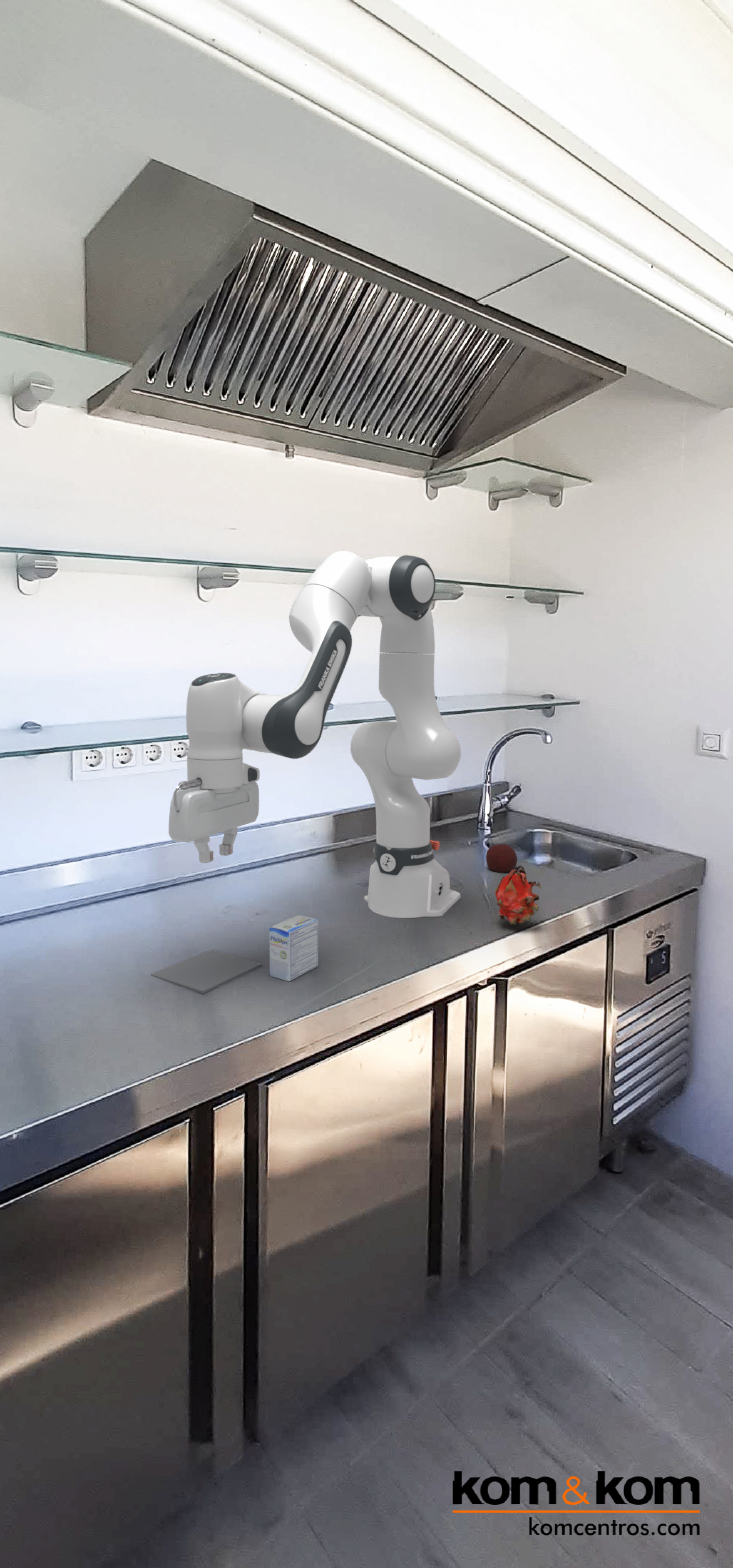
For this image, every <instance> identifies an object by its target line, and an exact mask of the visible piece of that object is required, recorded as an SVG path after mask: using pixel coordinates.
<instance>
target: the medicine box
mask: <svg viewBox="0 0 733 1568" xmlns="http://www.w3.org/2000/svg"><path fill="white" fill-rule="evenodd" d="M268 930H269V939H268V940H269V975H270V977H273V978H275V979H277V980H278V979H279V980H282V981H286V982H291V981H293V980H295V979H297V978H299V977H301V976H302V975H304V974H307V973H308V972H310V971H311V970H314V969H315V968H318V966H319V919H316V918H313V917H310V916H305V915H301V914H298V915H294V916H292V917H290V918H288V919H286V920H285V919H284V920H283V921H282V922H278V923H277V924H274V925H271V926H270V927H269V929H268Z"/></svg>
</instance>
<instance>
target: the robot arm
mask: <svg viewBox="0 0 733 1568" xmlns="http://www.w3.org/2000/svg"><path fill="white" fill-rule="evenodd" d="M435 593H436V577H435V573H434V571H433V569H432V568H431V565H430V564H429V563H428V561H427V560H425V559H424V558H422V557H419V556H417V555H416V556H414V555H408V554H405V555H404V554H403V555H401V556H398V555H384V556H376V557H373V558H369V559H368V558H367V559H364V558H362V557H361V556H360V555H358V554H356V553H355V552H352V551H348V550H339V551H335V552H333V553H331V554H330V555H329V556H328V557H327V558H325V560H324V561H322V563H320V564H319V566H318V567H317V568H315V570H314V571H313V573H311V575H310V577H309V578H308V579H307V581H306V582H305V583H304V585H303V587H302V588H301V590H300V591H299V593H298V594H297V596H296V597H295V600H294V601H293V603H292V605H291V608H290V611H289V614H288V621H289V625H290V626H289V627H290V630H291V632H292V634H293V636H294V637H295V639H296V640H297V641H298V642H299V643H300V644H301V645H302V646H303V648H305V649H306V650H307V651H309V652H310V653H311V655H310V658H309V659H308V662H307V664H306V666H305V669H304V671H303V673H302V675H301V677H300V680H299V683H298V684H297V687H295V688H294V689H293V690H291V691H289V692H288V693H285V694H281V695H279V694H269V693H268V694H267V693H260V692H259V691H257V690H255V689H253V688H250V687H249V686H247V685H246V684H244V683H243V681H241V680H239V679H240V678H239V677H238V676H237V675H236V674H234V673H229V672H218V673H210V674H205V675H200V676H198V677H196V678H195V679H194V680H192V681H191V683H190V685H189V687H188V691H187V697H186V709H185V710H186V713H185V715H186V717H185V720H186V723H185V724H186V727H185V728H186V733H187V735H188V740H189V741H188V749H187V753H186V767H187V769H186V770H187V771H186V775H187V776H186V777H187V779H186V780H185V781H180V782H179V783H178V786H176V788H175V789H174V791H173V793H172V798H171V799H170V807H169V816H168V835H169V837H170V838H171V840H172V841H174V842H182V843H190V842H193V844H194V846H195V848H196V850H197V852H198V861H199V863H201V864H209V863H210V862H213V861H214V850H210V846H209V843H210V841H211V840H210V836H213V835H217V834H220V833H222V834H223V838H222V841H221V843H220V844H219V845H218V848H219V849H218V850H219V851H218V852H219V855H220V856H223V857H224V856H225V857H227V856H228V857H229V856H230V855H234V854H233V853H234V843H235V841H236V838H237V836H238V828H239V827H242V826H245V825H248V824H252V823H254V822H256V820H257V818H258V816H259V813H260V812H259V810H260V789H259V785H258V783H257V782H259V780H260V776H261V772H260V768H258V767H255V766H254V765H253V766H252V765H250V764H248V763H245V762H244V761H243V760H244V759H243V757H244V756H243V750H249V751H255V752H259V753H264V754H265V753H266V754H274V755H277V756H281V757H285V758H289V759H292V760H295V759H296V760H297V759H301V758H304V757H306V756H307V755H309V754H310V753H311V752H313V750H314V749H315V748H316V747H317V745H318V743H319V742H320V740H321V737H322V734H323V731H324V727H325V726H324V725H325V720H326V716H327V713H328V710H329V707H330V704H331V702H332V699H333V698H334V694H335V693H336V690H337V688H338V686H339V683H340V681H341V678H342V676H343V673H344V672H345V669H346V666H347V663H348V661H349V658H350V655H351V651H352V647H353V638H352V633H351V630H352V628H353V626H354V624H355V622H356V621H357V619H358V617H369V618H372V617H373V618H379V620H380V622H381V629H380V630H381V631H380V641H379V654H378V655H379V659H378V660H379V662H378V664H379V665H378V690H379V693H380V695H381V697H382V698H383V700H385V701H386V702H388V703H389V704H390V706H391V708H392V710H393V712H394V716H395V721H390V720H389V721H387V720H379V721H372V722H366V723H364V724H361V725H360V726H358V727H357V728H356V730H355V731H354V732H353V734H352V737H351V740H350V754H351V757H352V760H353V761H354V763H355V764H356V765H357V766H358V767H359V768H360V769H361V771H362V772H363V773H364V776H365V778H366V779H367V783H368V785H369V787H370V790H371V793H372V796H373V801H374V806H375V825H376V826H375V828H376V830H375V831H376V832H375V833H376V837H375V838H376V839H375V840H376V841H375V842H374V843H373V845H374V846H373V859H374V860H375V861H374V863H372V864H371V866H370V870H369V879H368V892H367V895H364V897H363V899H364V900H365V902H367V903H368V904H367V905H368V908H369V910H371V911H372V912H373V913H375V914H377V915H381V916H384V917H388V918H395V919H396V918H398V919H413V918H422V917H423V918H424V917H426V918H427V917H430V918H432V917H434V918H435V917H442V916H444V914H445V913H447V912H448V911H449V910H450V909H451V908H452V907H453V906H454V905H455V903H457V901H458V900H459V899H461V893H460V892H459V891H456V890H454V889H450V887H451V886H450V885H451V884H450V883H451V882H450V879H451V878H450V873H449V871H448V870H447V869H445V868H444V866H442V865H441V864H440V863H439V862H438V861H437V860H436V859H435V854H434V851H439V849H440V846H441V845H440V841H439V840H432V839H431V838H430V835H431V833H430V830H431V829H430V828H431V825H430V824H431V809H430V806H429V803H428V801H427V800H426V799H425V797H423V796H422V795H421V794H420V793H419V792H418V790H417V789H416V786H415V783H414V780H413V779H415V780H416V779H417V780H424V781H429V780H438V779H439V780H440V779H445V778H448V777H449V776H451V775H452V774H453V773H454V772H455V771H456V770H457V768H458V766H459V764H460V761H461V755H462V754H461V753H462V749H461V744H460V740H459V739H458V737H457V736H456V734H455V733H454V732H453V731H452V730H451V728H449V726H448V725H447V724H446V723H445V721H444V719H443V717H442V714H441V712H440V709H439V706H438V703H437V699H436V693H435V691H436V690H435V653H436V652H435V649H436V647H435V646H436V645H435V629H434V628H435V627H434V619H433V613H432V609H431V607H430V606H431V604H432V603H433V599H434V597H435Z"/></svg>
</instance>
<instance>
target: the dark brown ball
mask: <svg viewBox="0 0 733 1568" xmlns="http://www.w3.org/2000/svg"><path fill="white" fill-rule="evenodd" d="M485 862H486V865H487V867H488V868H489V870H491V871H492V872H496V873H510V872H511V871H512V870H513V869H514V868H516V866H517V863H518V856H517V854H516V851H515V850H514V848H513V847H511V846H510V845H508V844H505V843H498V844H495V845H492V846H490V847H489V848H488V849H487V851H486V854H485Z"/></svg>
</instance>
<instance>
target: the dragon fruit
mask: <svg viewBox="0 0 733 1568" xmlns="http://www.w3.org/2000/svg"><path fill="white" fill-rule="evenodd" d="M518 870H519V871H518ZM534 886H536V887H538V888H539V889H542V885H541V882H539V881H532V880H531V881H528V880H527V873H526V870H525V867H524V866H522V865H518V867H516V866H515V867H514V868H513V869H512V870H511V871H509V872H508V874H506V875H503V876H502V878H501V879H500V881H499V884H497V887H496V888H495V890H494V893H495V897H496V900H497V903H496V905H497V906H499V910H498V914H499V917H500V920H502V921H503V920H505V917H506V920H507V921H508V922H509V924H510V925H515V926H518V924H524V923H525V921H526V922H529V921H530V920H531V917H532V916H535V914H536V913H535V912H537V911H539V909H540V907H539V905H538V903H535V901H539V900H540V896H539V895H538V894H537V893H533V888H534Z"/></svg>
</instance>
